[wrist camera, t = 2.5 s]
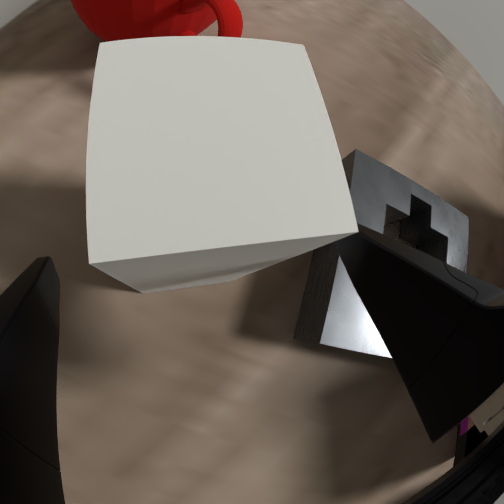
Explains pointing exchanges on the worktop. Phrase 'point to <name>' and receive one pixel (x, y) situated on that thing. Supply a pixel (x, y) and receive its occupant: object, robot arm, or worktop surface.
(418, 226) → the keyed socket block
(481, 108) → the worktop surface
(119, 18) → the ceramic cup
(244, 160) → the keyed peg
